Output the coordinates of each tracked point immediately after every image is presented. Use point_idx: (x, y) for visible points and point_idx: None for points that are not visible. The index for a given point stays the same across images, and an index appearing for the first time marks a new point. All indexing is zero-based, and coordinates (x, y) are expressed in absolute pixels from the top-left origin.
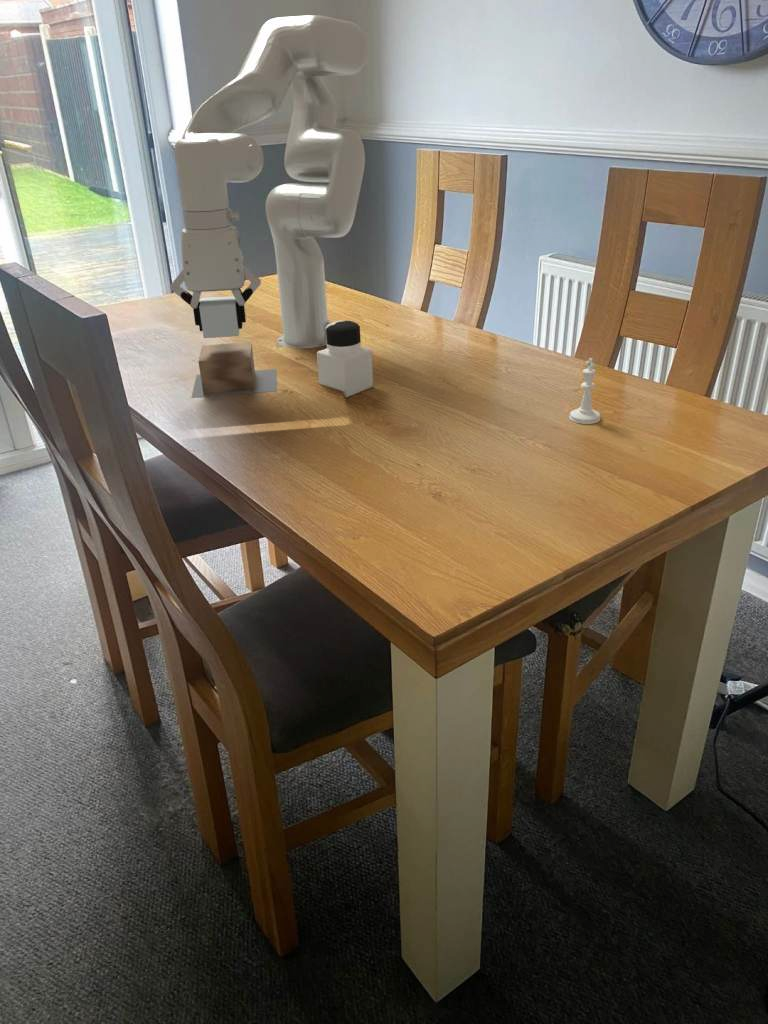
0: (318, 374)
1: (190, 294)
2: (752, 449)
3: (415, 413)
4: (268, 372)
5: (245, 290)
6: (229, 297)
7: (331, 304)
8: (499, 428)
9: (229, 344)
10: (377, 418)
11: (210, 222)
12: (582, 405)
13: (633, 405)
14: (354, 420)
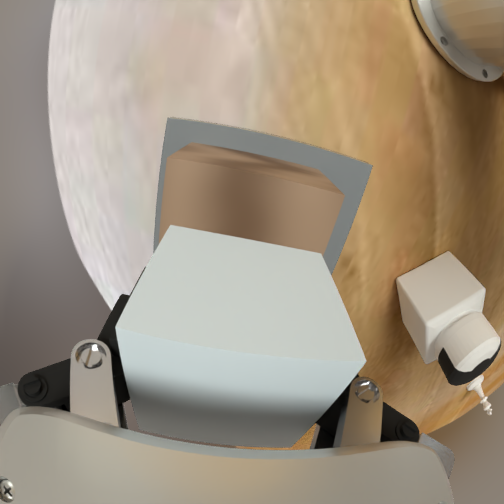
0: (406, 297)
1: (64, 402)
2: (472, 407)
3: (420, 368)
4: (348, 181)
5: (386, 440)
6: (314, 380)
7: None
8: (434, 393)
9: (266, 185)
10: (387, 372)
11: None
12: (476, 390)
13: (501, 367)
14: (366, 373)
